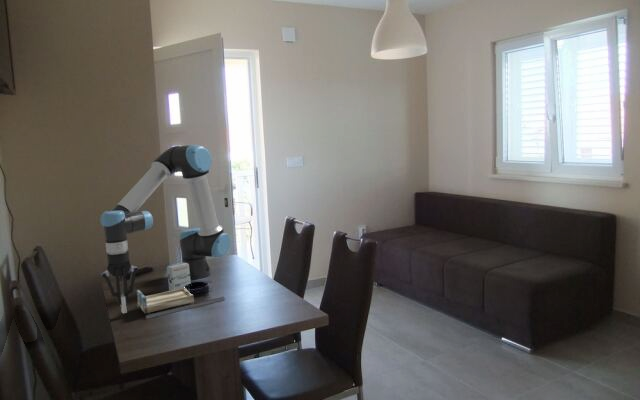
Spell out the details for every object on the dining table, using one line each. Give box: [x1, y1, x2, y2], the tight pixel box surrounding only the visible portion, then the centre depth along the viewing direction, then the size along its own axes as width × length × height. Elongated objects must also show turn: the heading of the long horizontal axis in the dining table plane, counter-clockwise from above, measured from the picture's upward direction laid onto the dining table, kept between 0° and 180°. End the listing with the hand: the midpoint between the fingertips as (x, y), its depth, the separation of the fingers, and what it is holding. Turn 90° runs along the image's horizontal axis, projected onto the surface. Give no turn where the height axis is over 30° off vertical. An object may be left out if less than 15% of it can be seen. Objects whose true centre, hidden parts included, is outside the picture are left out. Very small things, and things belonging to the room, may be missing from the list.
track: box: [136, 287, 225, 319], centre depth 188 cm, size 16×31×1 cm, turn 123°
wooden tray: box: [136, 288, 195, 315], centre depth 185 cm, size 12×19×7 cm, turn 123°
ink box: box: [166, 262, 192, 291], centre depth 204 cm, size 9×5×12 cm, turn 135°
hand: (124, 312), depth 177 cm, fingers closed
